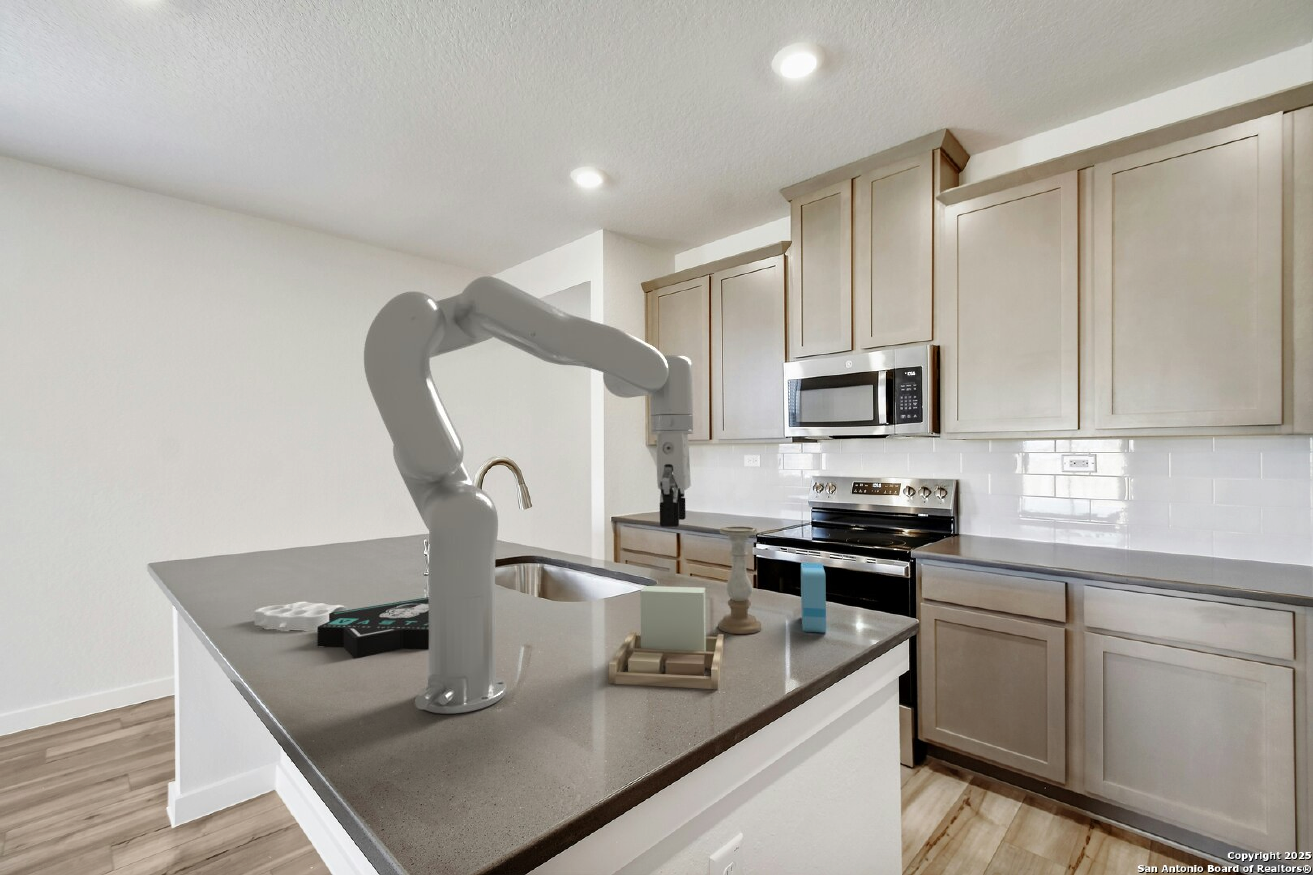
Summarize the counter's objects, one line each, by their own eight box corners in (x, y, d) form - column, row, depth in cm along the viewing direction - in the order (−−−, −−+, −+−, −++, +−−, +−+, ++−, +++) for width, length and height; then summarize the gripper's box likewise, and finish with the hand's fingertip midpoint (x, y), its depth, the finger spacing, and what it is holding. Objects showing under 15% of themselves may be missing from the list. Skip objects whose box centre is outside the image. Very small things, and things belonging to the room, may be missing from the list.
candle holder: (720, 635, 119) (719, 531, 119) (715, 622, 127) (714, 525, 128) (765, 634, 119) (764, 531, 119) (756, 621, 128) (755, 525, 128)
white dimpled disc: (358, 618, 134) (300, 638, 120) (297, 612, 140) (235, 630, 126) (358, 603, 134) (300, 621, 120) (297, 597, 140) (235, 614, 126)
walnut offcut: (703, 682, 95) (703, 663, 95) (665, 681, 96) (665, 662, 96) (704, 673, 99) (704, 655, 99) (668, 672, 100) (668, 653, 100)
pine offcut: (658, 680, 96) (658, 661, 96) (628, 678, 97) (628, 660, 97) (663, 671, 100) (663, 653, 100) (633, 669, 101) (633, 651, 101)
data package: (826, 634, 118) (825, 573, 119) (802, 633, 119) (801, 572, 119) (823, 617, 130) (822, 562, 130) (801, 616, 131) (800, 561, 131)
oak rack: (717, 689, 92) (717, 669, 92) (609, 683, 95) (609, 664, 95) (723, 651, 109) (723, 634, 109) (631, 646, 112) (631, 630, 112)
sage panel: (704, 663, 103) (703, 592, 103) (641, 660, 105) (640, 591, 105) (706, 655, 107) (705, 587, 107) (645, 652, 109) (644, 585, 109)
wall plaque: (436, 663, 106) (497, 615, 136) (436, 639, 106) (497, 597, 136) (276, 658, 109) (371, 613, 139) (276, 635, 109) (371, 595, 139)
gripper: (687, 423, 98) (689, 529, 97) (697, 427, 115) (698, 517, 115) (642, 424, 99) (643, 529, 99) (658, 427, 116) (659, 517, 116)
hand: (673, 522), depth 107 cm, fingers open, 9 cm apart
